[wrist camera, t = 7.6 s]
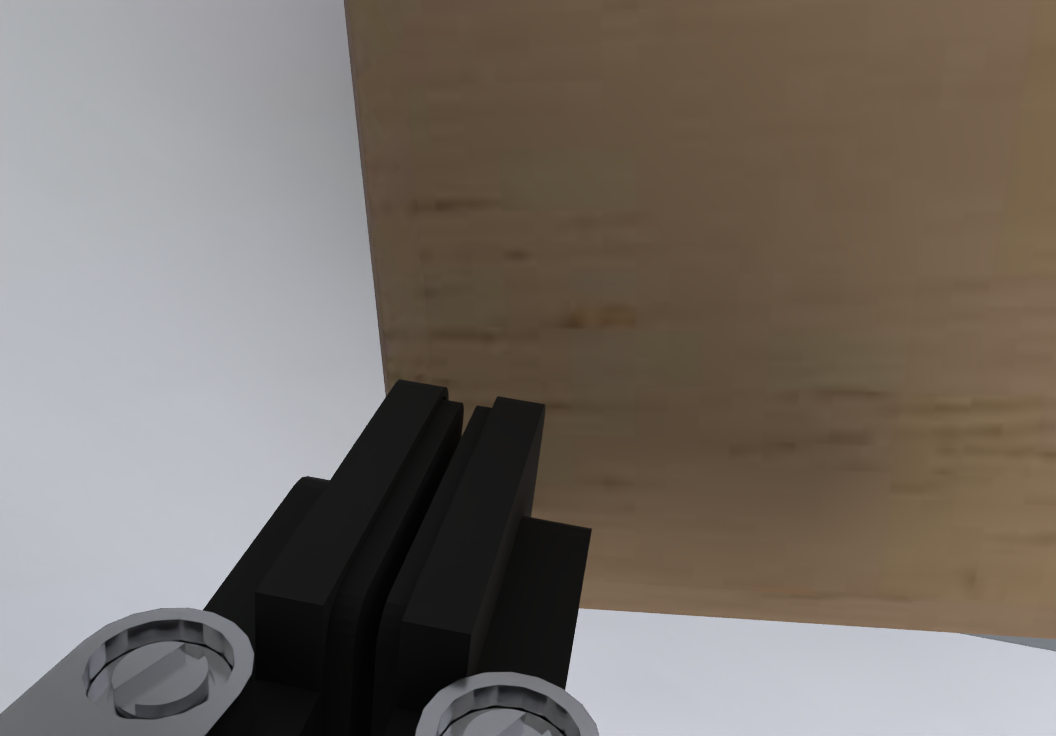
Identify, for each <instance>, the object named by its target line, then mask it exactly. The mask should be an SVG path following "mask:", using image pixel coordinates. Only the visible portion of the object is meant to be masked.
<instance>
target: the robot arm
mask: <svg viewBox="0 0 1056 736" xmlns="http://www.w3.org/2000/svg"><path fill="white" fill-rule="evenodd" d="M463 417H464V405H463V403H461V402H455V401H449V394H448V389H447V387H442V386H436V385H430V384H425V383H419V382H413V381H407V380H402V379H399V380H398V381H397V382H396V383H395V384H394V386H393V387H392V389H391V390H390V392H389V393H388V395H387V396H386V398H385V399H384V401H383V402H382V404H381V405H380V407H379V408H378V410H377V411H376V413H375V414H374V416H373V417H372V419H371V420H370V422H369V423H368V425H367V426H366V428H365V429H364V430H363V432H362V433H361V435H360V436H359V438H358V439H357V441H356V442H355V444H354V445H353V447H352V448H351V450H350V451H349V453H348V454H347V456H346V457H345V459H344V460H343V462H342V463H341V465H340V466H339V468H338V469H337V471H336V472H335V474H334V475H333V477H332V478H331V480H325V479H320V478H314V477H309V476H307V477H302V478H301V479H300V480H299V481H298V482H297V483H296V484H295V485H294V486H293V488H292V489H291V490H290V492H289V493H288V495H287V496H286V497H285V499H284V500H283V501H282V503H281V504H280V505H279V507H278V508H277V510H276V511H275V512H274V514H273V515H272V516H271V518H270V519H269V520H268V522H267V523H266V525H265V526H264V527H263V529H262V530H261V531H260V533H259V534H258V536H257V537H256V538H255V540H254V541H253V542H252V544H251V545H250V546H249V548H248V549H247V551H246V552H245V553H244V555H243V556H242V557H241V559H240V560H239V561H238V563H237V564H236V566H235V567H234V568H233V570H232V571H231V572H230V574H229V575H228V577H227V578H226V579H225V581H224V582H223V583H222V585H221V586H220V587H219V589H218V590H217V592H216V593H215V594H214V596H213V597H212V598H211V600H210V601H209V602H208V604H207V605H206V607H205V608H204V609H203V610H197V609H192V608H160V609H155V610H150V611H145V612H140V613H136V614H132V615H129V616H127V617H125V618H122V619H120V620H117V621H115V622H112V623H110V624H108V625H106V626H104V627H103V628H101V629H100V630H98V631H97V632H95V633H94V634H93V635H91V636H90V637H88V638H87V639H85V640H84V641H83V642H82V643H80V644H79V645H78V646H77V647H76V648H75V649H74V650H73V651H71V652H70V653H69V654H68V655H67V656H66V657H65V658H63V659H62V660H61V661H60V662H59V663H58V664H57V665H55V666H54V667H53V668H52V669H51V670H50V671H49V672H48V673H46V674H45V675H44V676H43V677H42V678H41V679H40V680H38V681H37V682H36V683H35V684H34V685H33V686H32V687H30V688H29V689H28V690H27V691H26V692H25V693H24V694H23V695H21V696H20V697H19V698H18V699H17V700H16V701H15V702H13V703H12V704H11V705H10V706H9V707H8V708H7V709H5V710H4V711H3V712H2V713H1V714H0V736H599V733H598V729H597V726H596V723H595V722H594V720H593V719H592V718H591V716H590V715H589V713H588V712H587V711H586V709H585V708H584V706H583V705H582V704H581V703H580V702H579V701H577V700H576V699H575V698H574V697H572V696H571V695H570V694H569V693H567V692H566V691H565V687H566V681H567V675H568V669H569V664H570V658H571V652H572V646H573V640H574V634H575V628H576V622H577V616H578V610H579V604H580V598H581V592H582V586H583V580H584V574H585V568H586V562H587V556H588V550H589V544H590V538H591V532H592V528H586V527H581V526H575V525H570V524H564V523H559V522H554V521H548V520H543V519H537V518H532V517H531V514H532V507H533V499H534V492H535V485H536V478H537V470H538V463H539V456H540V448H541V441H542V434H543V427H544V419H545V404H541V403H535V402H529V401H523V400H517V399H512V398H506V397H500V396H497V398H496V400H495V402H494V404H493V407H492V408H490V407H484V406H478V405H477V406H476V407H475V409H474V412H473V414H472V416H471V418H470V420H469V422H468V424H467V427H466V429H465V431H464V433H463V435H462V427H463Z"/></svg>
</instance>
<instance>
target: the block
mask: <svg viewBox="0 0 1056 736" xmlns="http://www.w3.org/2000/svg"><path fill="white" fill-rule="evenodd" d="M344 7H345V17H346V26H347V35H348V45H349V54H350V64H351V73H352V82H353V92H354V101H355V111H356V120H357V129H358V139H359V148H360V157H361V167H362V176H363V186H364V195H365V204H366V214H367V223H368V233H369V242H370V251H371V261H372V270H373V280H374V289H375V298H376V308H377V317H378V327H379V336H380V345H381V355H382V364H383V374H384V383H385V392H386V396H387V395H388V393H389V392H390V390H391V389H392V387H393V386H394V384H395V383H396V382H397V381H398V380H399V379H402V380H407V381H413V382H419V383H425V384H430V385H436V386H442V387H447V389H448V394H449V401H455V402H461V403H463V405H464V417H463V427H462V435H463V433H464V431H465V429H466V427H467V424H468V422H469V420H470V418H471V416H472V414H473V412H474V409H475V407H476V406H477V405H478V406H484V407H490V408H492V407H493V404H494V402H495V400H496V398H497V396H500V397H506V398H512V399H517V400H523V401H529V402H535V403H541V404H545V419H544V427H543V434H542V441H541V448H540V456H539V463H538V470H537V478H536V485H535V492H534V499H533V507H532V514H531V517H532V518H537V519H543V520H548V521H554V522H559V523H564V524H570V525H575V526H581V527H586V528H592V532H591V538H590V544H589V550H588V556H587V562H586V568H585V574H584V580H583V586H582V592H581V598H580V604H579V608H584V609H600V610H615V611H630V612H646V613H661V614H676V615H692V616H707V617H722V618H738V619H753V620H769V621H784V622H799V623H815V624H830V625H845V626H861V627H876V628H891V629H907V630H922V631H937V632H953V633H968V634H983V635H999V636H1014V637H1029V638H1045V639H1056V0H344Z"/></svg>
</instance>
